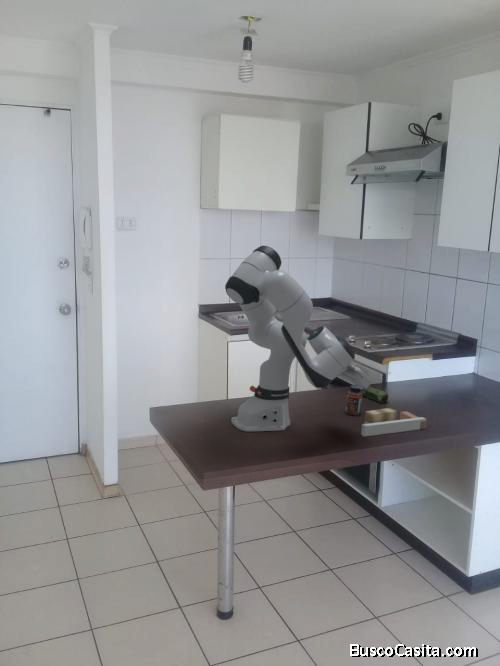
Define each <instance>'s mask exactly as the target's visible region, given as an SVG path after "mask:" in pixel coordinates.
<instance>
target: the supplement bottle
mask: <svg viewBox="0 0 500 666" xmlns="http://www.w3.org/2000/svg"><path fill="white" fill-rule="evenodd" d="M362 401H363V393H362V391H361V389H359V388H357V387H356V386H355V385H354V384H353V385H351V386H350V390H348V391H347V397H346V407H345V414H347V415H349V416H359V415H361V412H362V411H361V410H362V403H363V402H362Z"/></svg>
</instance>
